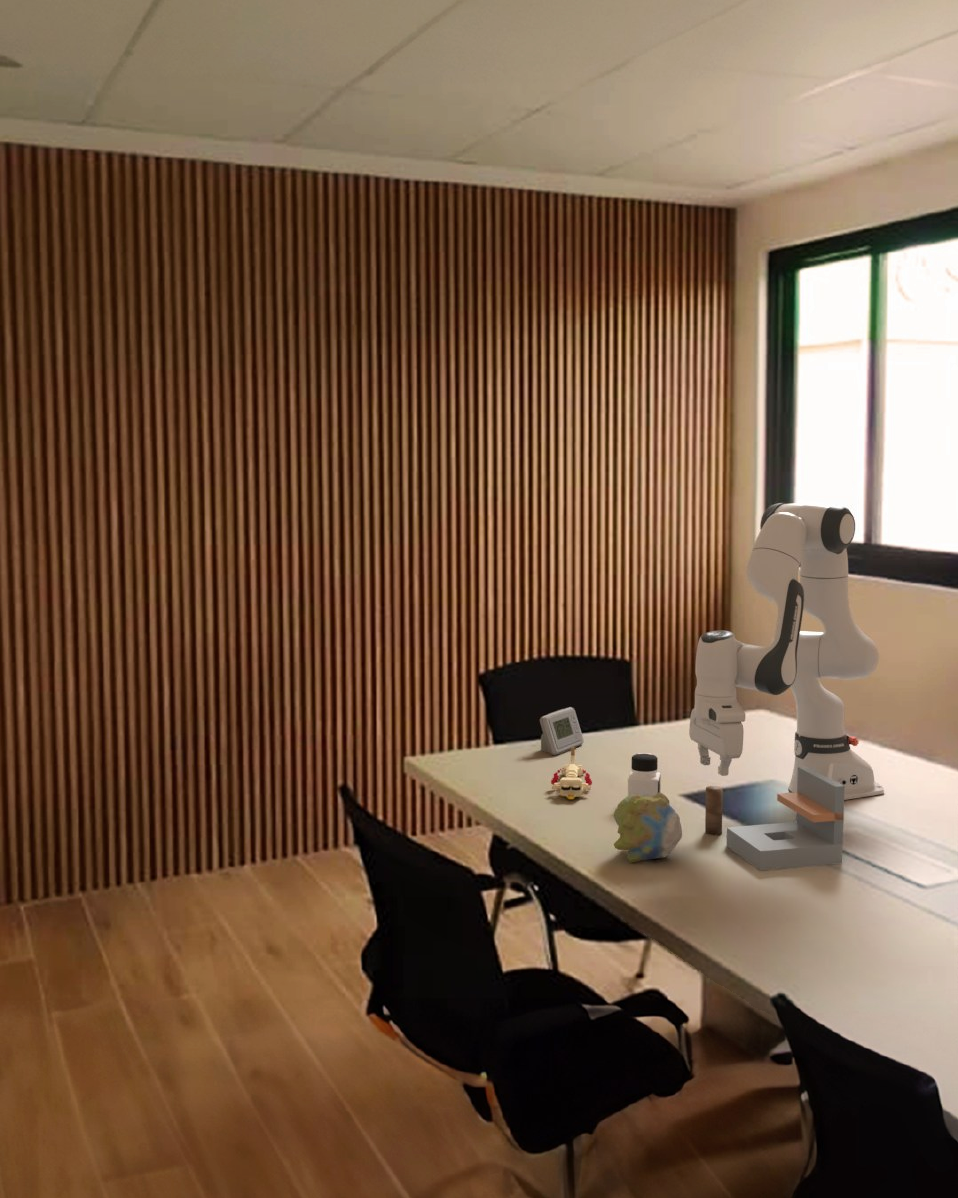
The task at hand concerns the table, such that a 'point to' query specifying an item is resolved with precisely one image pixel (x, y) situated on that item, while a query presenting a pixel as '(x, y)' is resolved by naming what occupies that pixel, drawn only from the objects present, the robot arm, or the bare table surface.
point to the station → (797, 828)
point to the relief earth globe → (647, 826)
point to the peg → (713, 810)
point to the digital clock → (560, 731)
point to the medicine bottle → (644, 775)
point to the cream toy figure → (571, 779)
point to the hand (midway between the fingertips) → (714, 769)
